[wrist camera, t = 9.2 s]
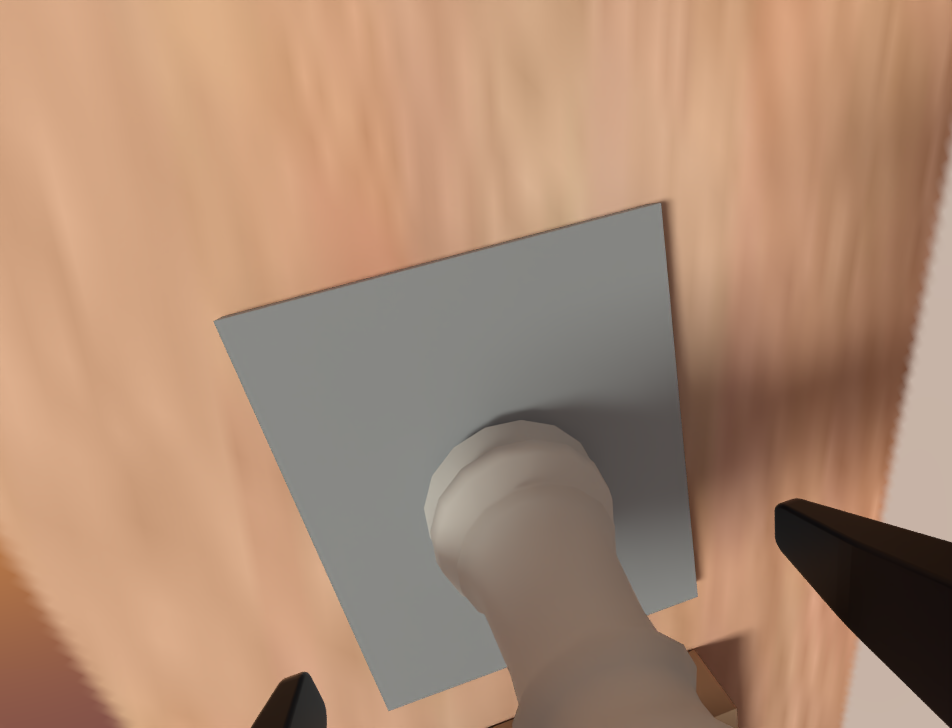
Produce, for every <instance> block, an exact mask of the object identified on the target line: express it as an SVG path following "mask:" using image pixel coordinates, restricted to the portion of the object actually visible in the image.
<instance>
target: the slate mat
mask: <svg viewBox="0 0 952 728" xmlns="http://www.w3.org/2000/svg"><path fill="white" fill-rule="evenodd" d="M214 324H215V326H216V328H217V330H218V333H219V335H220V337H221V339H222V342H223V344H224V346H225V348H226V350H227V353H228V355H229V357H230V359H231V362H232V364H233V366H234V368H235V370H236V373H237V375H238V377H239V379H240V382H241V384H242V386H243V388H244V390H245V393H246V395H247V397H248V399H249V402H250V404H251V406H252V408H253V410H254V413H255V415H256V417H257V419H258V422H259V424H260V426H261V428H262V430H263V433H264V435H265V437H266V439H267V442H268V444H269V446H270V448H271V451H272V453H273V455H274V457H275V459H276V462H277V464H278V466H279V468H280V471H281V473H282V475H283V477H284V479H285V482H286V484H287V486H288V488H289V491H290V493H291V495H292V497H293V499H294V502H295V504H296V506H297V508H298V511H299V513H300V515H301V517H302V519H303V522H304V524H305V526H306V528H307V531H308V533H309V535H310V537H311V539H312V542H313V544H314V546H315V548H316V551H317V553H318V555H319V557H320V560H321V562H322V564H323V566H324V568H325V571H326V573H327V575H328V577H329V580H330V582H331V584H332V586H333V588H334V591H335V593H336V595H337V597H338V600H339V602H340V604H341V606H342V608H343V611H344V613H345V615H346V617H347V620H348V622H349V624H350V626H351V628H352V631H353V633H354V635H355V637H356V640H357V642H358V644H359V646H360V648H361V651H362V653H363V655H364V657H365V660H366V662H367V664H368V666H369V669H370V671H371V673H372V675H373V677H374V680H375V682H376V684H377V686H378V689H379V691H380V693H381V695H382V697H383V700H384V702H385V704H386V706H387V709H388V711H390V710H393V709H396V708H398V707H401V706H404V705H407V704H409V703H412V702H415V701H417V700H420V699H423V698H425V697H428V696H431V695H433V694H436V693H439V692H442V691H444V690H447V689H450V688H452V687H455V686H458V685H460V684H463V683H466V682H469V681H471V680H474V679H477V678H479V677H482V676H485V675H487V674H490V673H493V672H496V671H498V670H501V669H504V668H506V667H507V665H506V663H505V661H504V658H503V656H502V654H501V651H500V649H499V647H498V644H497V642H496V640H495V637H494V635H493V633H492V630H491V628H490V626H489V623H488V621H487V619H486V616H485V615H484V614H482V613H480V612H478V611H477V610H476V609H475V607H474V606H473V605H472V604H471V603H470V601H469V600H468V599H467V598H466V597H464V596H462V595H461V594H460V593H459V591H458V590H457V589H456V588H455V587H454V585H453V584H452V583H451V582H450V581H449V579H448V578H447V577H446V576H445V575H444V573H443V572H442V570H441V569H440V567H439V565H438V564H437V562H436V558H435V553H434V548H433V543H432V540H431V538H430V535H429V530H428V525H427V521H426V516H425V511H424V506H425V502H426V498H427V494H428V490H429V486H430V482H431V478H432V475H433V474H434V473H435V472H436V470H437V469H438V468H439V466H440V465H441V464H442V462H443V461H444V460H445V458H446V457H447V456H448V454H449V453H450V452H451V450H452V449H453V448H454V447H455V446H457V445H458V444H460V443H462V442H463V441H465V440H466V439H468V438H469V437H471V436H473V435H474V434H476V433H477V432H479V431H481V430H482V429H484V428H486V427H490V426H495V425H499V424H504V423H509V422H513V421H518V420H525V421H531V422H537V423H543V424H549V425H555V426H556V427H558V428H559V429H561V430H562V431H564V432H565V433H567V434H568V435H570V436H571V437H573V438H574V439H576V440H577V441H579V442H580V443H581V444H582V446H583V448H584V450H585V451H586V453H587V455H588V457H589V458H590V460H591V461H593V462H594V463H595V465H596V467H597V468H598V470H599V472H600V474H601V475H602V477H603V479H604V481H605V482H606V484H607V486H608V488H609V491H610V494H611V497H612V501H613V520H614V525H615V541H616V554H617V557H618V560H619V562H620V564H621V566H622V568H623V570H624V572H625V574H626V576H627V578H628V580H629V582H630V584H631V586H632V588H633V590H634V592H635V595H636V597H637V599H638V601H639V603H640V605H641V607H642V609H643V611H644V612H645V614H646V615H649V614H652V613H655V612H658V611H660V610H663V609H666V608H668V607H671V606H674V605H676V604H679V603H682V602H685V601H687V600H690V599H693V598H695V597H698V594H697V584H696V573H695V562H694V551H693V541H692V530H691V519H690V509H689V498H688V487H687V476H686V466H685V455H684V444H683V434H682V423H681V412H680V402H679V391H678V380H677V369H676V359H675V348H674V337H673V327H672V316H671V305H670V294H669V284H668V273H667V262H666V252H665V241H664V230H663V219H662V209H661V203H654V204H647V205H643V206H639V207H636V208H632V209H628V210H624V211H621V212H617V213H613V214H609V215H605V216H602V217H598V218H594V219H590V220H586V221H583V222H579V223H575V224H571V225H568V226H564V227H560V228H556V229H552V230H549V231H545V232H541V233H537V234H534V235H530V236H526V237H522V238H518V239H515V240H511V241H507V242H503V243H499V244H496V245H492V246H488V247H484V248H481V249H477V250H473V251H469V252H465V253H462V254H458V255H454V256H450V257H446V258H443V259H439V260H435V261H431V262H428V263H424V264H420V265H416V266H412V267H409V268H405V269H401V270H397V271H394V272H390V273H386V274H382V275H378V276H375V277H371V278H367V279H363V280H359V281H356V282H352V283H348V284H344V285H341V286H337V287H333V288H329V289H325V290H322V291H318V292H314V293H310V294H307V295H303V296H299V297H295V298H291V299H288V300H284V301H280V302H276V303H272V304H269V305H265V306H261V307H257V308H254V309H250V310H246V311H242V312H238V313H235V314H231V315H227V316H223V317H221V318H219V319H217V320H215V321H214Z"/></svg>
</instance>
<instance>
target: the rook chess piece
mask: <svg viewBox="0 0 952 728" xmlns="http://www.w3.org/2000/svg"><path fill="white" fill-rule="evenodd" d="M424 511H425V516H426V521H427V525H428V530H429V535H430V538H431V540H432V543H433V548H434V553H435V558H436V562H437V564H438V565H439V567H440V569H441V570H442V572H443V573H444V575H445V576H446V577H447V578H448V579H449V581H450V582H451V583H452V584H453V585H454V587H455V588H456V589H457V590H458V591H459V593H460V594H461V595H462V596H464V597H466V598H467V599H468V600H469V601H470V603H471V604H472V605H473V606H474V607H475V609H476V610H477V611H478V612H480V613H482V614H484V615H485V616H486V619H487V621H488V623H489V626H490V628H491V630H492V633H493V635H494V637H495V640H496V642H497V644H498V647H499V649H500V651H501V654H502V656H503V658H504V661H505V663H506V665H507V668H508V670H509V672H510V675H511V678H512V682H513V685H514V689H515V693H516V696H517V700H518V704H519V706H518V709H517V711H516V714H515V717H514V720H513V723H512V728H733V727H731V726H729V725H727V724H725V723H723V722H721V721H719V720H717V719H715V718H714V717H713V716H712V714H711V713H710V712H709V711H708V710H707V708H706V707H705V706H704V705H703V704H702V702H701V701H700V699H699V697H698V695H697V693H696V678H697V666H696V665H695V663H694V661H693V660H692V658H691V656H690V655H689V653H688V651H687V650H686V648H685V646H684V645H683V644H681V643H679V642H677V641H675V640H673V639H671V638H669V637H668V636H666V635H664V634H662V633H660V632H658V631H657V630H656V629H655V627H654V626H653V624H652V623H651V621H650V620H649V618H648V617H647V615H646V614H645V612H644V611H643V609H642V607H641V605H640V603H639V601H638V599H637V597H636V595H635V592H634V590H633V588H632V586H631V584H630V582H629V580H628V578H627V576H626V574H625V572H624V570H623V568H622V566H621V564H620V562H619V560H618V557H617V554H616V541H615V525H614V520H613V501H612V497H611V494H610V491H609V488H608V486H607V484H606V482H605V481H604V479H603V477H602V475H601V474H600V472H599V470H598V468H597V467H596V465H595V463H594V462H593V461H591V460H590V458H589V457H588V455H587V453H586V451H585V450H584V448H583V446H582V444H581V443H580V442H579V441H577V440H576V439H574V438H573V437H571V436H570V435H568V434H567V433H565V432H564V431H562V430H561V429H559V428H558V427H556V426H555V425H549V424H543V423H537V422H531V421H525V420H518V421H513V422H509V423H504V424H499V425H495V426H490V427H486V428H484V429H482V430H481V431H479V432H477V433H476V434H474V435H473V436H471V437H469V438H468V439H466V440H465V441H463V442H462V443H460V444H458V445H457V446H455V447H454V448H453V449H452V450H451V452H450V453H449V454H448V456H447V457H446V458H445V460H444V461H443V462H442V464H441V465H440V466H439V468H438V469H437V470H436V472H435V473H434V474H433V475H432V478H431V482H430V486H429V490H428V494H427V498H426V502H425V506H424Z"/></svg>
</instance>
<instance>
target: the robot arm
mask: <svg viewBox="0 0 952 728" xmlns="http://www.w3.org/2000/svg"><path fill="white" fill-rule="evenodd" d="M775 539H776V543H777V545H778V547H779V548H780V550H781V551H782V553H783V554H784V555H785V556H786V557H787V558H788V560H789V561H790V562H791V563H792V564H793V565H794V566H795V568H796V569H797V570H798V571H799V572H800V573H801V575H802V576H803V577H804V578H805V579H806V580H807V581H808V583H809V584H810V585H811V586H812V587H813V588H814V589H815V591H816V592H817V593H818V594H819V595H820V596H821V598H822V599H823V600H824V601H825V602H826V603H827V604H828V606H829V607H830V608H831V609H832V610H833V611H834V613H835V614H836V615H837V616H838V617H839V618H840V619H841V620H842V621H843V622H844V623H845V625H846V626H847V627H848V628H849V629H850V630H851V631H852V632H853V633H854V634H855V635H856V636H857V637H858V638H859V639H860V640H861V641H862V642H863V643H864V644H865V645H866V646H867V647H868V648H869V649H870V650H871V651H872V652H874V654H875V655H876V656H877V657H878V658H879V659H880V660H881V661H882V662H883V663H885V664H886V666H888V667H889V668H890V669H891V670H892V671H893V672H894V673H895V674H896V675H897V676H898V677H899V678H900V679H901V680H902V681H903V682H904V683H905V684H906V685H907V686H908V687H909V688H910V689H911V690H912V691H913V692H914V693H915V694H916V695H917V696H918V697H919V698H920V699H921V700H922V701H923V702H924V703H925V704H926V705H927V706H928V707H929V708H930V709H931V710H932V711H933V712H934V713H935V714H936V715H937V716H938V717H939V718H940V719H942V720H943V721H944V722H945V723H946V724H947V725H948V726H949V727H950V728H952V542H948V541H945V540H941V539H938V538H935V537H931V536H928V535H924V534H921V533H917V532H914V531H911V530H907V529H903V528H900V527H897V526H893V525H890V524H886V523H883V522H879V521H876V520H872V519H869V518H865V517H862V516H859V515H855V514H852V513H848V512H845V511H841V510H838V509H834V508H831V507H827V506H824V505H820V504H817V503H813V502H810V501H807V500H803V499H798V498H796V499H791V500H788V501H785V502H782V503H780V504H778V505H777V506H776V507H775ZM251 728H327V715H326V708H325V704H324V701H323V699H322V697H321V695H320V693H319V691H318V689H317V687H316V685H315V684H314V682H313V680H312V678H311V676H310V675H309V673H307V672H301V673H298V674H295V675H292V676H290V677H287V678H285V679H283V680H282V681H281V682H280V683H279V684H278V686H277V687H276V689H275V690H274V692H273V694H272V695H271V697H270V698H269V700H268V701H267V703H266V705H265V706H264V708H263V709H262V711H261V712H260V714H259V716H258V717H257V719H256V720H255V722H254V723H253V725H252V727H251Z"/></svg>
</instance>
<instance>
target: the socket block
mask: <svg viewBox="0 0 952 728" xmlns="http://www.w3.org/2000/svg"><path fill="white" fill-rule="evenodd" d="M688 653H689V655H690V656H691V658H692V660H693V661H694V663H695V665H696V666H697V678H696V693H697V695H698V697H699V699H700V701H701V702H702V704H703V705H704V706H705V707H706V708H707V710H708V711H709V712H710V713H711V714H712V716H713V717H714V718H715V719H717V720H719V721H721V722H723V723H725V724H727V725H729V726H731V727H733V728H738V718H737V708H736V706H735V705H734V704H733V702H732V701H731V699H730V698H729V697H728V695H727V694H726V693H725V691H724V690H723V688H722V687H721V686H720V684H719V683H718V682H717V680H716V679H715V677H714V676H713V675H712V673H711V672H710V671H709V669H708V668H707V666H706V665H705V664H704V662H703V661H702V660H701V658H700V657H699V655H698V654H697V653H696V651H695V650H692V651H689V652H688ZM513 720H514V719H512V720H510V721H507V722H504V723H502V724H499V725H497V726H494V727H491V728H512V723H513Z"/></svg>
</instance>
